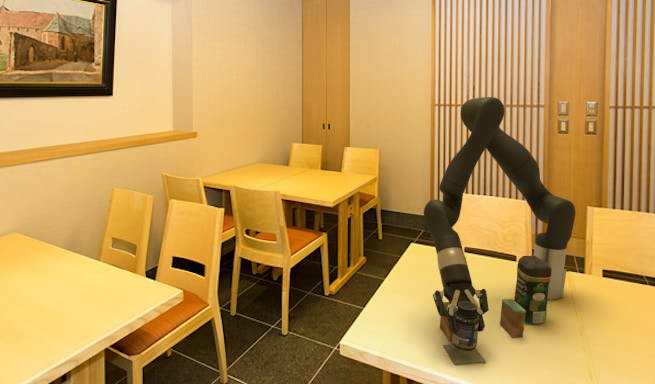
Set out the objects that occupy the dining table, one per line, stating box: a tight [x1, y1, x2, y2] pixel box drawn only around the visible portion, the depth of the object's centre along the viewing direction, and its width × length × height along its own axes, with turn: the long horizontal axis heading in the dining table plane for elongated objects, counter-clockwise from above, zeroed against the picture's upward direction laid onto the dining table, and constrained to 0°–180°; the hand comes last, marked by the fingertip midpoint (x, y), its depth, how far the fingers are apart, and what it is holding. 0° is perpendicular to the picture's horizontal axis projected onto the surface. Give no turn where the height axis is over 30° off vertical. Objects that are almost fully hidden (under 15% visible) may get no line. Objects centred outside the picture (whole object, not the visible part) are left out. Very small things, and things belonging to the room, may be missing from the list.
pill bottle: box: [451, 301, 479, 351], centre depth 109 cm, size 6×6×11 cm
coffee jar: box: [513, 255, 552, 325], centre depth 127 cm, size 10×8×19 cm
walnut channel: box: [439, 298, 526, 343], centre depth 120 cm, size 21×7×8 cm, turn 96°
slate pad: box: [442, 343, 487, 366], centre depth 110 cm, size 8×8×1 cm
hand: (468, 331), depth 107 cm, fingers closed on pill bottle, 6 cm apart
